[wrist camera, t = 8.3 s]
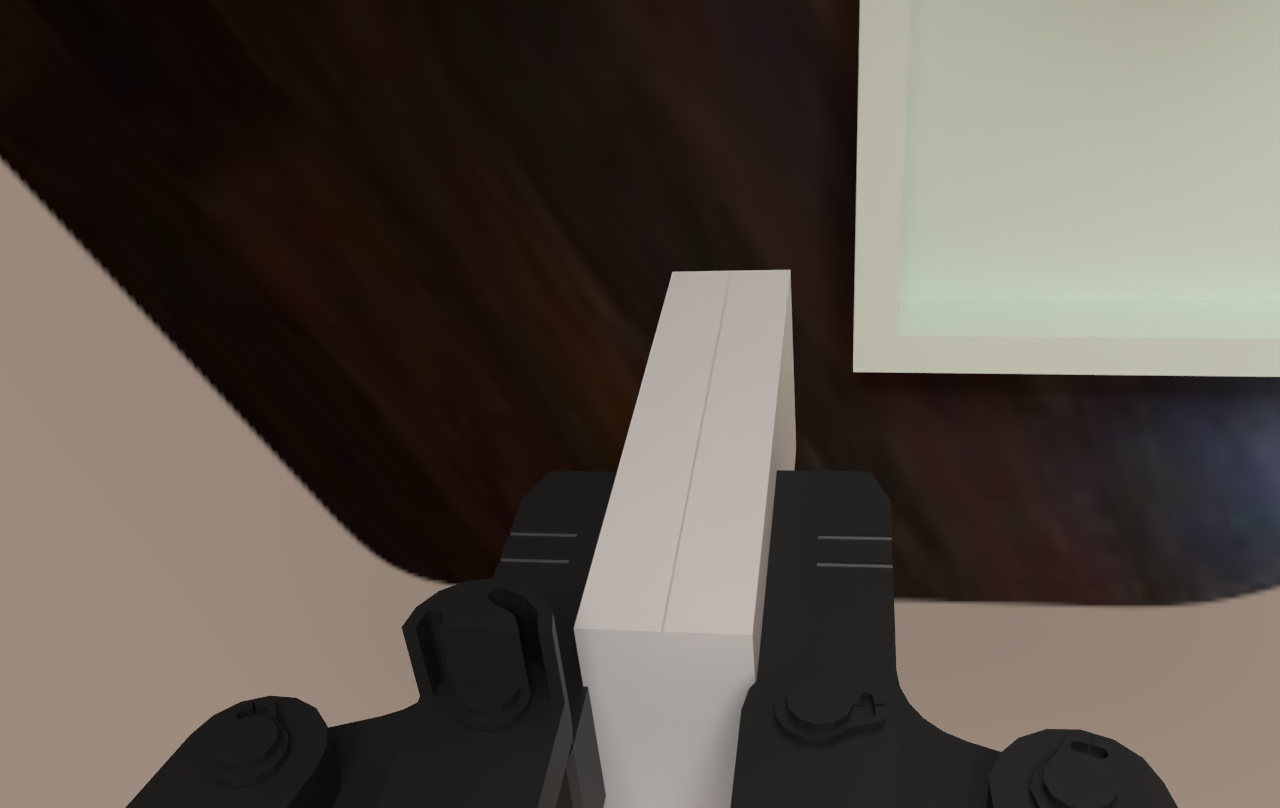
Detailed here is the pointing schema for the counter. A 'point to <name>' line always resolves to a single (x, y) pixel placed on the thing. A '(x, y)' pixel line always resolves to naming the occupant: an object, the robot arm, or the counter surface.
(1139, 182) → the sliding tray
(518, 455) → the counter surface
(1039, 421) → the counter surface
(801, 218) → the counter surface
